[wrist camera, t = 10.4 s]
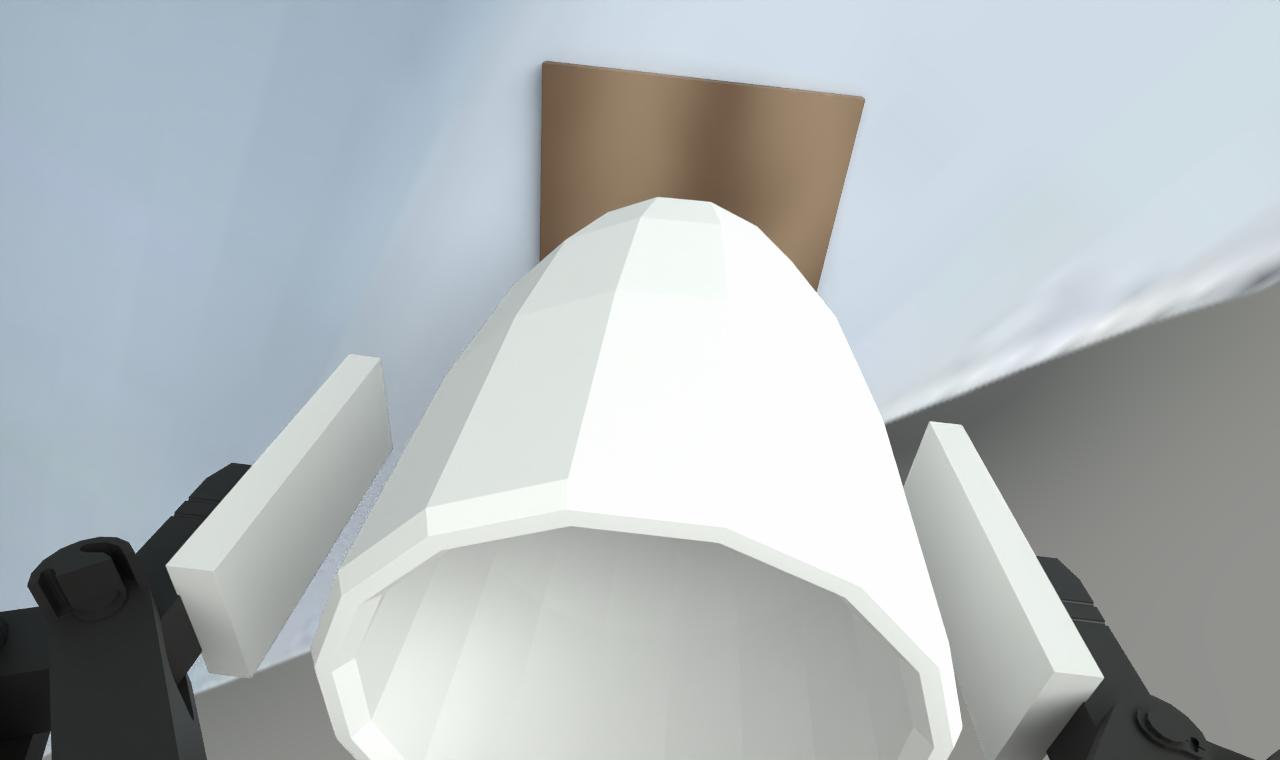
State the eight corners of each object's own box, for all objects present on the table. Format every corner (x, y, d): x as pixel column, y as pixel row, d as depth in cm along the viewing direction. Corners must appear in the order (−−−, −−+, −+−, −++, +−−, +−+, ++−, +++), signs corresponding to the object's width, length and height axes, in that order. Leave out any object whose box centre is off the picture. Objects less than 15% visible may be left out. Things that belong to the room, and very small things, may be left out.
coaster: (541, 337, 32) (538, 343, 32) (545, 60, 26) (542, 62, 25) (794, 368, 32) (795, 375, 31) (862, 96, 25) (865, 99, 25)
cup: (635, 378, 32) (535, 928, 14) (508, 185, 28) (125, 622, 10) (847, 284, 29) (1078, 852, 11) (740, 47, 24) (824, 322, 6)
